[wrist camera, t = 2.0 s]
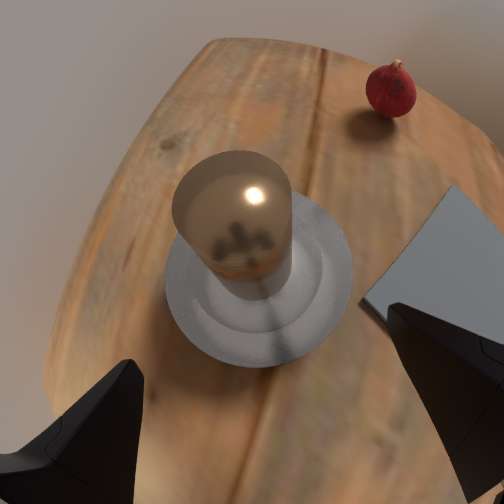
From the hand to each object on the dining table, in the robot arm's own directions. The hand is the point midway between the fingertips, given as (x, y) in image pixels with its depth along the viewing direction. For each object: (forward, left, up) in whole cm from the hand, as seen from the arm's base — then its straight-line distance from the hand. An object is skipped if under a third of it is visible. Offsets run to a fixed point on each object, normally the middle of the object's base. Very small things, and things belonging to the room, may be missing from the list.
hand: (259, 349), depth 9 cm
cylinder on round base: (+3, +5, -8) cm, 10 cm away
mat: (+16, -9, -12) cm, 22 cm away
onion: (+27, +10, -12) cm, 31 cm away
